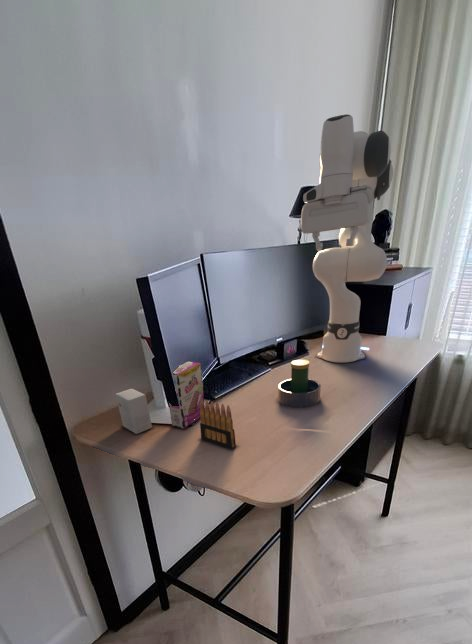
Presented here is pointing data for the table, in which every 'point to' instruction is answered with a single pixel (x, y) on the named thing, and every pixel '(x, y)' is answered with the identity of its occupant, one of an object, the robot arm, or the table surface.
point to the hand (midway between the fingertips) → (334, 247)
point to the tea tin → (299, 376)
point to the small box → (134, 410)
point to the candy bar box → (187, 394)
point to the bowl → (299, 394)
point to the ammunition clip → (217, 425)
